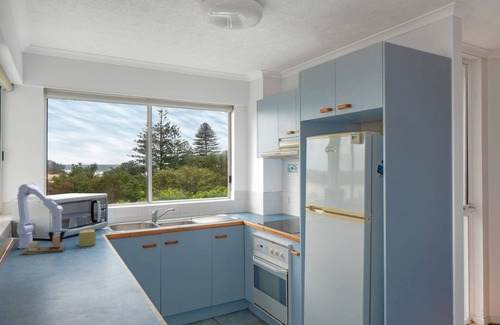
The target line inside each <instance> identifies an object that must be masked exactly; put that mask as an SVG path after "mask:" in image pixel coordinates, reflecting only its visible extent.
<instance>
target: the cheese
mask: <svg viewBox="0 0 500 325" xmlns="http://www.w3.org/2000/svg"><path fill="white" fill-rule="evenodd" d="M96 238H97V237H96V231H95V228H94V229H93V228H91V229H90V228H89V229H84V230H80V231H79V233H78V243H79V244H78V245H79V248H81V247H88V246H89V247H90V246H95V245H96V243H97V242H96V241H97V239H96Z"/></svg>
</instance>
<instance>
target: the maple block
mask: <svg viewBox="0 0 500 325" xmlns="http://www.w3.org/2000/svg"><path fill="white" fill-rule="evenodd" d="M38 248H39V241H38V240H37V241H32V242H30V243H29V251H38Z"/></svg>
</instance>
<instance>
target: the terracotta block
mask: <svg viewBox="0 0 500 325" xmlns="http://www.w3.org/2000/svg"><path fill="white" fill-rule="evenodd" d="M54 246H62V243H60V234H58V235H55V234H54V236H53V243H52V247H54Z"/></svg>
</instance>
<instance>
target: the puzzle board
mask: <svg viewBox="0 0 500 325" xmlns="http://www.w3.org/2000/svg"><path fill="white" fill-rule="evenodd" d="M66 248H67V246H66V245H60V246H41V247H38V251H29V248H23V250H22V251H21V252H20V256H25V254H29V255H38V254H40V255H41V254H42V255H43V254H51V253H63V252H64V251H65V249H66ZM23 254H24V255H23Z"/></svg>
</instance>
